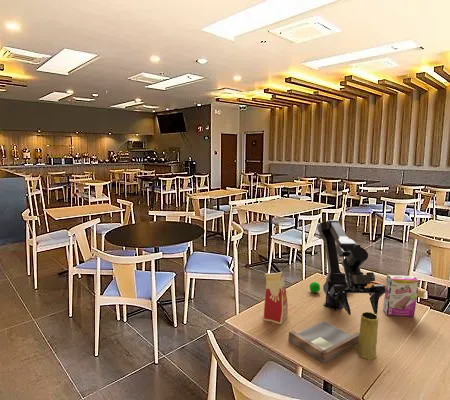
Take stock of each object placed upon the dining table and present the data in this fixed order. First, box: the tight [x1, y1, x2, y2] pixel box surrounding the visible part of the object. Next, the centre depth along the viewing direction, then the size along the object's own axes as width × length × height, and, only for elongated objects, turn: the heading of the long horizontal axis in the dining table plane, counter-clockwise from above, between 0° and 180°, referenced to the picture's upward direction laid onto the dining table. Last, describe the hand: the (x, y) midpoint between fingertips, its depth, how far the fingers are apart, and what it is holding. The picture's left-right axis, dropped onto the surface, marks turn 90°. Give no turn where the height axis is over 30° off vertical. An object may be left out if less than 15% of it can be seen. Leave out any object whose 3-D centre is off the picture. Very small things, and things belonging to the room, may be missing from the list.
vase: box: [356, 311, 379, 360], centre depth 113 cm, size 6×6×14 cm
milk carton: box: [262, 271, 289, 325], centre depth 136 cm, size 9×9×20 cm
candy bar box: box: [382, 274, 420, 318], centre depth 139 cm, size 11×5×16 cm, turn 84°
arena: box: [288, 320, 359, 364], centre depth 121 cm, size 16×20×4 cm
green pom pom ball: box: [309, 281, 321, 293], centre depth 160 cm, size 5×5×5 cm
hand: (363, 314), depth 117 cm, fingers open, 9 cm apart
